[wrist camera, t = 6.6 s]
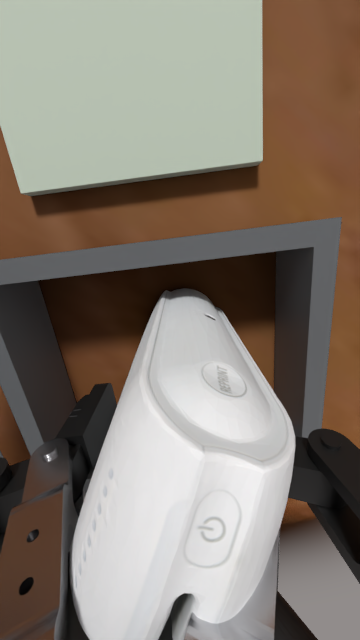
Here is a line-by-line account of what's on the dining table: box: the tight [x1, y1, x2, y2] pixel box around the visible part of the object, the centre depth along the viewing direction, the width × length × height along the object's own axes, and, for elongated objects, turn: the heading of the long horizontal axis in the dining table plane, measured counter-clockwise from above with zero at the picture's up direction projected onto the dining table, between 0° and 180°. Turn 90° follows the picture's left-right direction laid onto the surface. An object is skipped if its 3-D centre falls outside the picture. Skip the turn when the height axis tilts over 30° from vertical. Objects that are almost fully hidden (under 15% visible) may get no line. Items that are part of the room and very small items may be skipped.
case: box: [0, 217, 342, 494], centre depth 14 cm, size 16×15×4 cm
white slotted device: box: [69, 288, 295, 640], centre depth 10 cm, size 10×4×12 cm, turn 161°
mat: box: [0, 0, 263, 196], centre depth 10 cm, size 12×12×1 cm
